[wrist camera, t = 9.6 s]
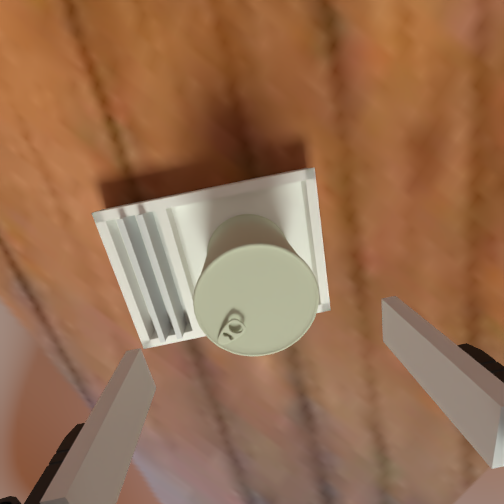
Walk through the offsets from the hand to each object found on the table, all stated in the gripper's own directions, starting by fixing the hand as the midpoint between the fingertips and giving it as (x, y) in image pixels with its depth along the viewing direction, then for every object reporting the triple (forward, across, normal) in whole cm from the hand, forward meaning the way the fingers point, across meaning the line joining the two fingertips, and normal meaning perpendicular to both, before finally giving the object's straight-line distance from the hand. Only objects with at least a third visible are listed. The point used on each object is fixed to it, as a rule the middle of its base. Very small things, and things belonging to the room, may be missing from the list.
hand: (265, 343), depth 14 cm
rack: (+17, -3, 0) cm, 18 cm away
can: (+16, 0, 0) cm, 17 cm away
